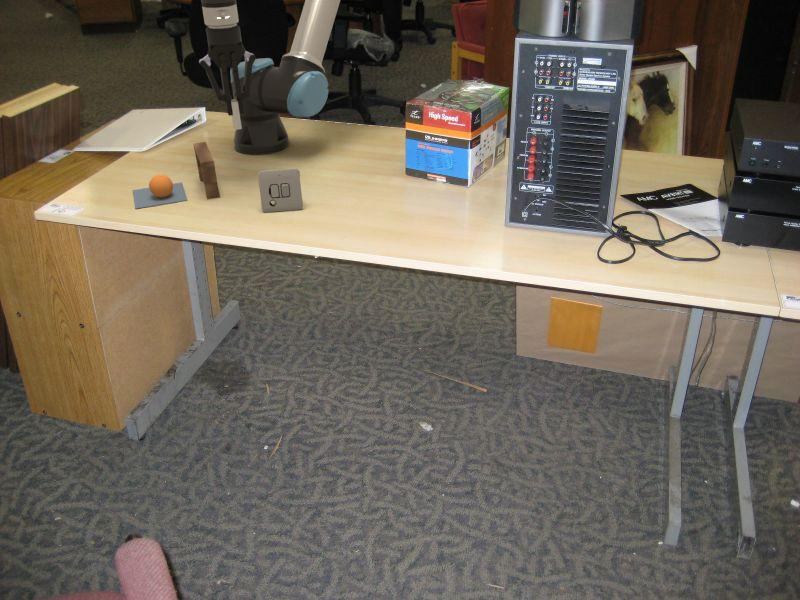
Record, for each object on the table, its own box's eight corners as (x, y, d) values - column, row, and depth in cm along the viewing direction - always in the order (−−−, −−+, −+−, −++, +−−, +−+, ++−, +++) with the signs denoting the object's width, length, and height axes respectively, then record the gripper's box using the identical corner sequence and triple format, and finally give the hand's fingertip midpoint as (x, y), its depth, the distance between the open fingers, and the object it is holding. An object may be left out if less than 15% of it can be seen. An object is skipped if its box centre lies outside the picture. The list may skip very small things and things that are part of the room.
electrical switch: (262, 213, 170) (256, 173, 166) (263, 206, 174) (258, 167, 170) (303, 210, 171) (299, 171, 167) (303, 203, 175) (299, 164, 171)
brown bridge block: (211, 176, 190) (205, 141, 185) (220, 197, 178) (213, 160, 174) (199, 178, 189) (193, 143, 185) (207, 199, 178) (200, 162, 173)
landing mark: (182, 183, 187) (182, 182, 187) (187, 200, 177) (187, 199, 177) (132, 190, 184) (132, 190, 184) (135, 209, 174) (135, 208, 174)
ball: (164, 167, 179) (143, 176, 178) (168, 176, 175) (146, 185, 174) (174, 186, 183) (153, 195, 182) (178, 195, 179) (157, 205, 178)
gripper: (194, 31, 162) (212, 136, 174) (254, 25, 166) (267, 128, 178) (190, 25, 168) (208, 127, 180) (248, 19, 172) (261, 119, 184)
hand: (237, 127), depth 179 cm, fingers closed
